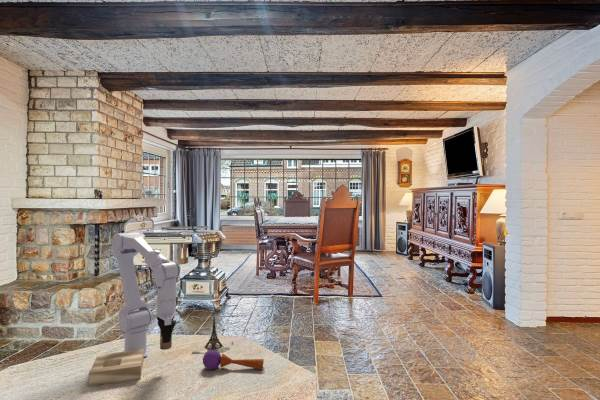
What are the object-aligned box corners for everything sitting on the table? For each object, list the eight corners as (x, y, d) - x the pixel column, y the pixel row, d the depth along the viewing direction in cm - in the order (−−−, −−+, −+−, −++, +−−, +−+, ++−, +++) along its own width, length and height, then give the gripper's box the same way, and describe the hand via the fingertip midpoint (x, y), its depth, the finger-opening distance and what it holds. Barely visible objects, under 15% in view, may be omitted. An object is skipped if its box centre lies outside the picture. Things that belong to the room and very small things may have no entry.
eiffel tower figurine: (190, 355, 127) (190, 318, 127) (194, 344, 137) (195, 310, 137) (232, 353, 129) (232, 317, 129) (233, 342, 139) (234, 309, 139)
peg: (160, 345, 117) (160, 321, 117) (171, 344, 119) (172, 320, 119) (159, 350, 114) (159, 325, 114) (171, 348, 115) (172, 324, 115)
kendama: (262, 361, 113) (200, 356, 114) (261, 378, 114) (200, 372, 115) (264, 350, 119) (206, 345, 119) (263, 366, 120) (205, 361, 120)
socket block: (97, 366, 117) (97, 354, 117) (143, 360, 121) (143, 349, 121) (89, 386, 104) (89, 372, 104) (140, 378, 109) (140, 365, 109)
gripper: (152, 294, 121) (151, 334, 121) (154, 306, 108) (153, 350, 108) (174, 292, 124) (173, 331, 124) (178, 303, 111) (177, 346, 111)
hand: (165, 340), depth 116 cm, fingers closed on peg, 4 cm apart
